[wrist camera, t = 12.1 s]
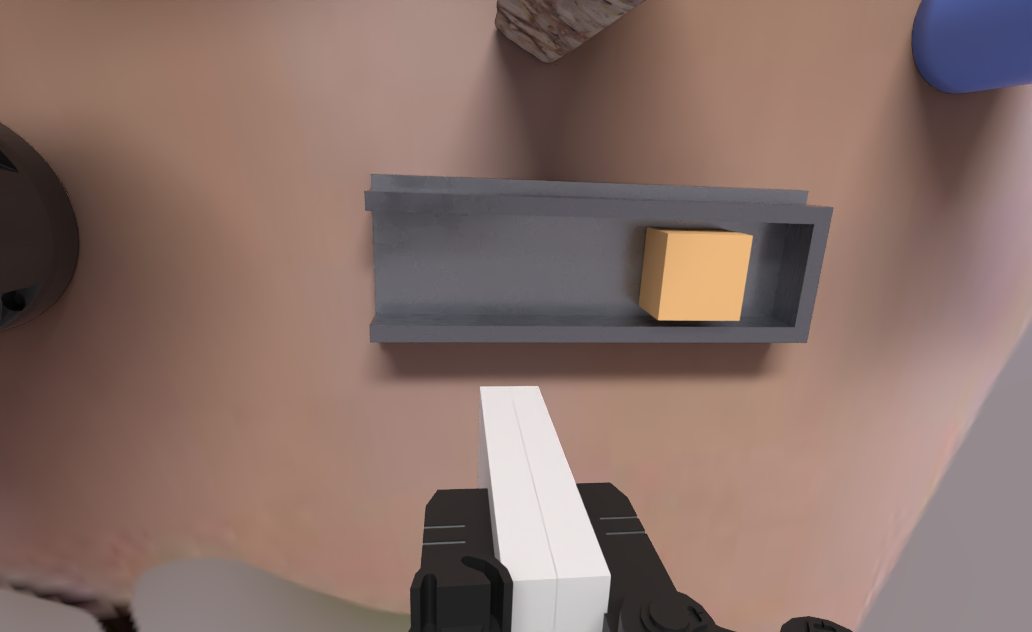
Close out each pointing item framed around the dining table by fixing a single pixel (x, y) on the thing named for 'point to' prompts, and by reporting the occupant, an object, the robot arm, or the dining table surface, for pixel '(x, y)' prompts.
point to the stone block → (557, 23)
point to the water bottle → (973, 44)
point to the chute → (576, 260)
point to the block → (694, 273)
